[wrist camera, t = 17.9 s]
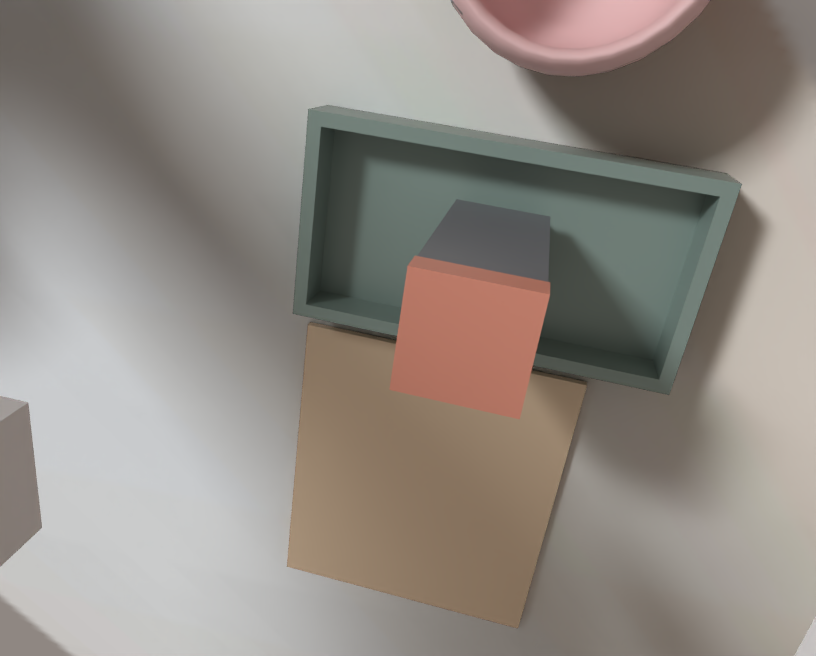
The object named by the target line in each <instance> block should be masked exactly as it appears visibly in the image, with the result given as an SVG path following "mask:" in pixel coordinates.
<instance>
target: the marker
mask: <svg viewBox="0 0 816 656" xmlns="http://www.w3.org/2000/svg"><path fill="white" fill-rule="evenodd" d="M549 245H550V216H545V215H539V214H534V213H529V212H523V211H518V210H512V209H507V208H502V207H496V206H491V205H486V204H480V203H475V202H469V201H464V200H459V199H456V201H455V202H454V204H453V205H452V206H451V208H450V209H449V211H448V212H447V214H446V215H445V217H444V218H443V219H442V221H441V222H440V224H439V225H438V227H437V228H436V230H435V231H434V232H433V234H432V235H431V237H430V238H429V240H428V241H427V243H426V244H425V245H424V247H423V248H422V250H421V251H420V253H419V254H418V256H414V257H413V259H412V260H411V262H410V263H409V265H408V266H407V273H406V280H405V286H404V293H403V300H402V307H401V314H400V320H399V327H398V334H397V341H396V348H395V354H394V361H393V368H392V375H391V382H390V388H389V390H392V391H397V392H401V393H405V394H410V395H414V396H419V397H423V398H428V399H432V400H436V401H441V402H445V403H450V404H454V405H458V406H463V407H467V408H472V409H476V410H480V411H485V412H489V413H494V414H498V415H502V416H507V417H511V418H516V419H520V416H521V412H522V408H523V404H524V400H525V395H526V391H527V387H528V383H529V379H530V375H531V371H532V367H533V363H534V358H535V354H536V350H537V346H538V342H539V338H540V334H541V330H542V326H543V322H544V317H545V313H546V309H547V305H548V301H549V297H550V282H548V277H549Z"/></svg>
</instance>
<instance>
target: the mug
mask: <svg viewBox="0 0 816 656" xmlns="http://www.w3.org/2000/svg"><path fill="white" fill-rule="evenodd" d="M451 2H452V5H453V6H454V8H455V9H456V11H457V12H458V13H459V15H460V16H461V18H462V19H463V20H464V22H465V23H466V25H467V26H468V27H469V29H470V30H471V31H472V33H473V34H475V35H476V36H477V37H478V38H479V39H480V40H481V41H482V42H483V43H485V44H486V45H487V46H488V47H489V48H490V49H491V50H492V51H493V52H495V53H496V54H498V55H500V56H502V57H503V58H505V59H507V60H509V61H511V62H512V63H514V64H516V65H518V66H520V67H522V68H526V69H529V70H533V71H536V72H540V73H543V74H547V75H558V76H576V77H580V76H586V75H592V74H598V73H604V72H610V71H612V70H615V69H618V68H620V67H623V66H626V65H628V64H631V63H633V62H636V61H639V60H641V59H643V58H644V57H646V56H647V55H649V54H651V53H652V52H654V51H655V50H657V49H659V48H660V47H662V46H663V45H665V44H667V43H668V42H670V41H671V40H673V39H674V38H675V37H676V36H677V35H678V34H679V33H680V32H681V31H682V30H684V29H685V28H686V27H687V26H688V25H689V24H690V23H691V22H692V21H693V20H694V19H696V18H697V17H698V16H699V15H700V13H701V12H702V11H703V10H704V8H705V7H706V6H707V4H708V3H709V2H710V0H451Z"/></svg>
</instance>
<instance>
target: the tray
mask: <svg viewBox="0 0 816 656" xmlns="http://www.w3.org/2000/svg"><path fill="white" fill-rule="evenodd" d="M741 185H742V184H741V183H740V182H738V181H737V180H735V179H734V178H732V177H731V176H730V175H728V174H727V173H722V172H716V171H710V170H704V169H698V168H692V167H687V166H681V165H675V164H669V163H663V162H657V161H652V160H646V159H640V158H634V157H628V156H622V155H616V154H611V153H605V152H599V151H593V150H587V149H581V148H576V147H570V146H564V145H558V144H552V143H546V142H540V141H535V140H529V139H523V138H517V137H511V136H505V135H500V134H494V133H488V132H482V131H476V130H470V129H464V128H459V127H453V126H447V125H441V124H435V123H429V122H423V121H418V120H412V119H406V118H400V117H394V116H388V115H383V114H377V113H371V112H365V111H359V110H353V109H347V108H342V107H336V106H330V105H325V106H321V107H316V108H311V109H308V121H307V134H306V147H305V160H304V173H303V187H302V200H301V213H300V226H299V239H298V253H297V266H296V279H295V292H294V305H293V314H296V315H301V316H306V317H310V318H315V319H320V320H324V321H329V322H334V323H338V324H343V325H347V326H352V327H357V328H361V329H366V330H371V331H375V332H380V333H385V334H389V335H394V336H397V334H398V327H399V320H400V314H401V307H402V300H403V293H404V286H405V280H406V273H407V266H408V265H409V263H410V262H411V260H412V259H413V257H414V256H418V254H419V253H420V251H421V250H422V248H423V247H424V245H425V244H426V243H427V241H428V240H429V238H430V237H431V235H432V234H433V232H434V231H435V230H436V228H437V227H438V225H439V224H440V222H441V221H442V219H443V218H444V217H445V215H446V214H447V212H448V211H449V209H450V208H451V206H452V205H453V204H454V202H455V201H456V199H459V200H464V201H469V202H475V203H480V204H486V205H491V206H496V207H502V208H507V209H512V210H518V211H523V212H529V213H534V214H539V215H545V216H550V245H549V277H548V282H550V297H549V301H548V305H547V309H546V313H545V317H544V322H543V326H542V330H541V334H540V338H539V342H538V346H537V350H536V354H535V358H534V363H533V366H537V367H542V368H547V369H551V370H556V371H561V372H565V373H570V374H575V375H579V376H584V377H588V378H593V379H598V380H602V381H607V382H612V383H616V384H621V385H626V386H630V387H635V388H639V389H644V390H649V391H653V392H658V393H663V394H667V395H669V394H670V391H671V388H672V385H673V383H674V380H675V377H676V374H677V371H678V368H679V365H680V362H681V359H682V356H683V353H684V351H685V348H686V345H687V342H688V339H689V336H690V333H691V330H692V327H693V324H694V321H695V319H696V316H697V313H698V310H699V307H700V304H701V301H702V298H703V295H704V292H705V290H706V287H707V284H708V281H709V278H710V275H711V272H712V269H713V266H714V263H715V260H716V258H717V255H718V252H719V249H720V246H721V243H722V240H723V237H724V234H725V231H726V229H727V226H728V223H729V220H730V217H731V214H732V211H733V208H734V205H735V202H736V199H737V197H738V194H739V191H740V188H741Z"/></svg>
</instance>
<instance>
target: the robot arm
mask: <svg viewBox="0 0 816 656" xmlns="http://www.w3.org/2000/svg"><path fill="white" fill-rule="evenodd" d="M41 528H42V523H41V514H40V505H39V496H38V487H37V478H36V469H35V460H34V451H33V442H32V433H31V424H30V414H29V405H28V402H24V401H19V400H15V399H11V398H7V397H3V396H0V567H1V566H2V565H3V564H4V563H5V562H6V561H7V560H8V559H9V558H10V557H11V556H12V555H13V554H14V553H15V552H16V551H18V550H19V549H20V548H21V547H22V546H23V545H24V544H25V543H26V542H27V541H28V540H29V539H30V538H31V537H32V536H34V535H35V534H36V533H37V532H38V531H39V530H40V529H41ZM795 656H816V616H815V618H814V620H813V622H812V624H811V626H810V628H809V630H808V631H807V633H806V635H805V637H804V639H803V641H802V643H801V645H800V646H799V648H798V650H797V652H796V654H795Z"/></svg>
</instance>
